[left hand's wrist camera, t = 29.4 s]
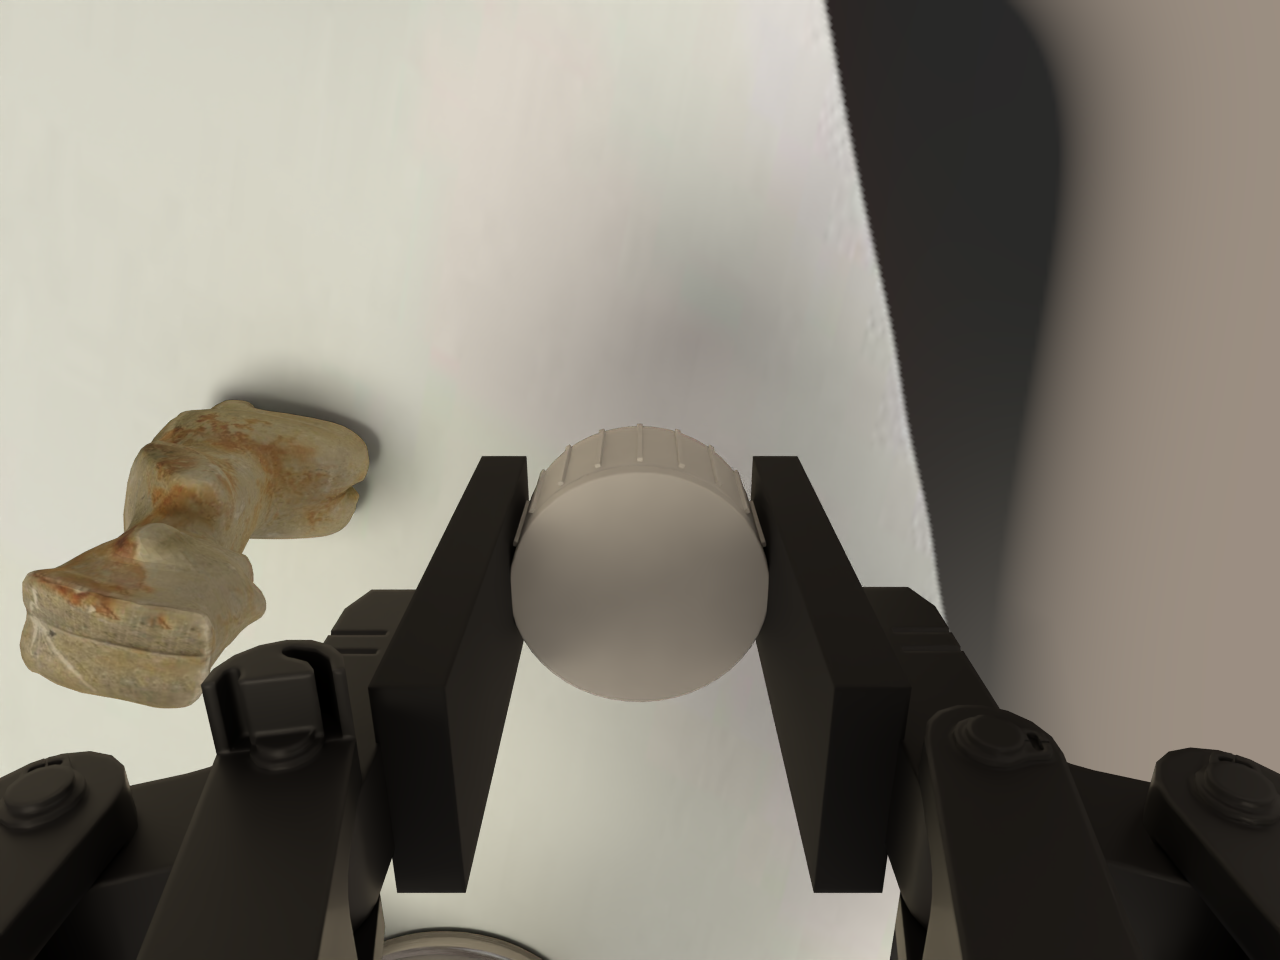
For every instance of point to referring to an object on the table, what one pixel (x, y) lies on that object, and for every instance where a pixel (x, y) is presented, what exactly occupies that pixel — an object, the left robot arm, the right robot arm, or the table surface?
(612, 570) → the cap
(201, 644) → the sculpture
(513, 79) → the table surface
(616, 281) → the table surface
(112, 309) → the table surface
